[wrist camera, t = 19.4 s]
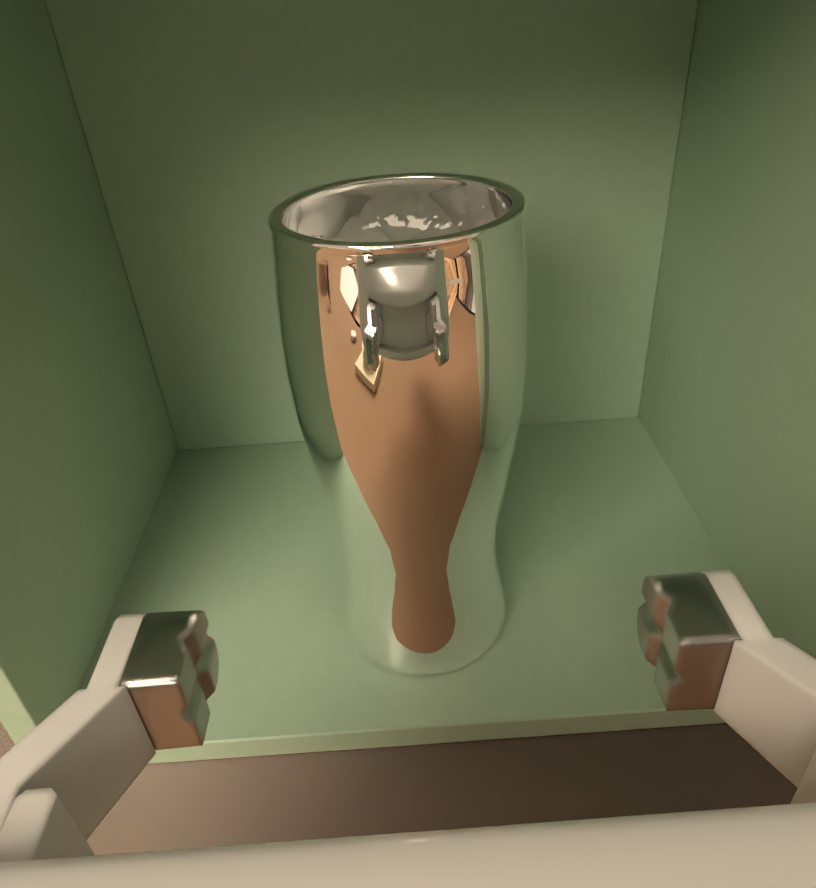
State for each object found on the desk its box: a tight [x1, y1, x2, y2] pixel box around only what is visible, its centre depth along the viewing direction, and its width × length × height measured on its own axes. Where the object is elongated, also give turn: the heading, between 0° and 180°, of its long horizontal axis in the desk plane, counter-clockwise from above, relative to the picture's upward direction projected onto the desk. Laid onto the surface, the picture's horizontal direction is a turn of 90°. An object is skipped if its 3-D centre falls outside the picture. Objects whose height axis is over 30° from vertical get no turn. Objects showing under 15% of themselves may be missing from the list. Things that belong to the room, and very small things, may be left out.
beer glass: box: [268, 172, 529, 675], centre depth 22 cm, size 7×7×15 cm
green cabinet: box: [0, 0, 816, 764], centre depth 23 cm, size 18×26×24 cm
